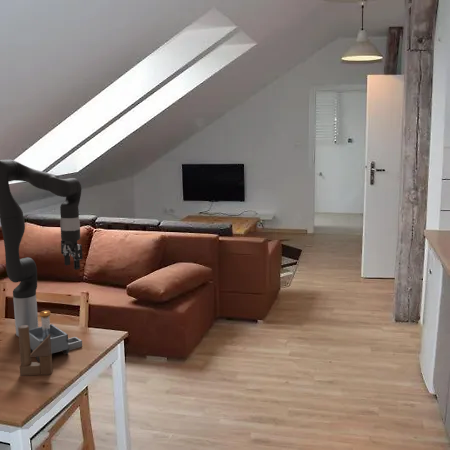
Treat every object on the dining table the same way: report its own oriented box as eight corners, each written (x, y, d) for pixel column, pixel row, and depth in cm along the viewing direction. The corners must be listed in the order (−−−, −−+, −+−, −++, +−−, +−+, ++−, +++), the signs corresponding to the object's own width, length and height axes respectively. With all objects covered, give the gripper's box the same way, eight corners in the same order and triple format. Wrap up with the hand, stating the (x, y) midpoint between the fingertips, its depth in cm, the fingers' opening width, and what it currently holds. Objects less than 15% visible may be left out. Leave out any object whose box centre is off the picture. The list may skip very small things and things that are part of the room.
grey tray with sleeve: (25, 351, 207) (24, 330, 206) (71, 338, 220) (69, 319, 218) (40, 363, 196) (39, 342, 195) (87, 349, 209) (86, 329, 207)
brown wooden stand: (50, 374, 188) (47, 327, 184) (19, 376, 187) (16, 328, 183) (52, 370, 191) (49, 323, 188) (22, 371, 190) (19, 324, 187)
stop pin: (39, 340, 205) (37, 312, 203) (49, 338, 208) (47, 309, 206) (43, 343, 202) (42, 314, 200) (53, 341, 205) (52, 312, 203)
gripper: (53, 226, 212) (55, 265, 215) (69, 231, 202) (71, 272, 205) (71, 224, 217) (72, 262, 220) (87, 229, 207) (88, 269, 210)
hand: (72, 267), depth 212 cm, fingers open, 8 cm apart
